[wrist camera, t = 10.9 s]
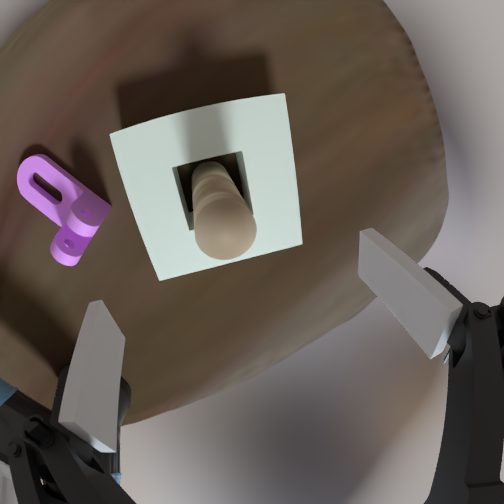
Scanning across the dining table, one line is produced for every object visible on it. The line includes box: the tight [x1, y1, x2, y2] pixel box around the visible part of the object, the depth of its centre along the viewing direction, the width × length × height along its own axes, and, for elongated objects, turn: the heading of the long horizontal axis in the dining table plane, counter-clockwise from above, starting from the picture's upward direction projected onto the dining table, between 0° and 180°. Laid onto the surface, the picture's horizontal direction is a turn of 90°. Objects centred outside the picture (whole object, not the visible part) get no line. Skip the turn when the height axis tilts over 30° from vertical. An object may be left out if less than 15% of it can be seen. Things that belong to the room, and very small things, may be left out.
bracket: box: [17, 154, 112, 266], centre depth 23 cm, size 13×6×7 cm, turn 45°
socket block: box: [110, 93, 302, 281], centre depth 27 cm, size 16×16×5 cm
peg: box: [192, 161, 257, 260], centre depth 24 cm, size 4×4×14 cm
